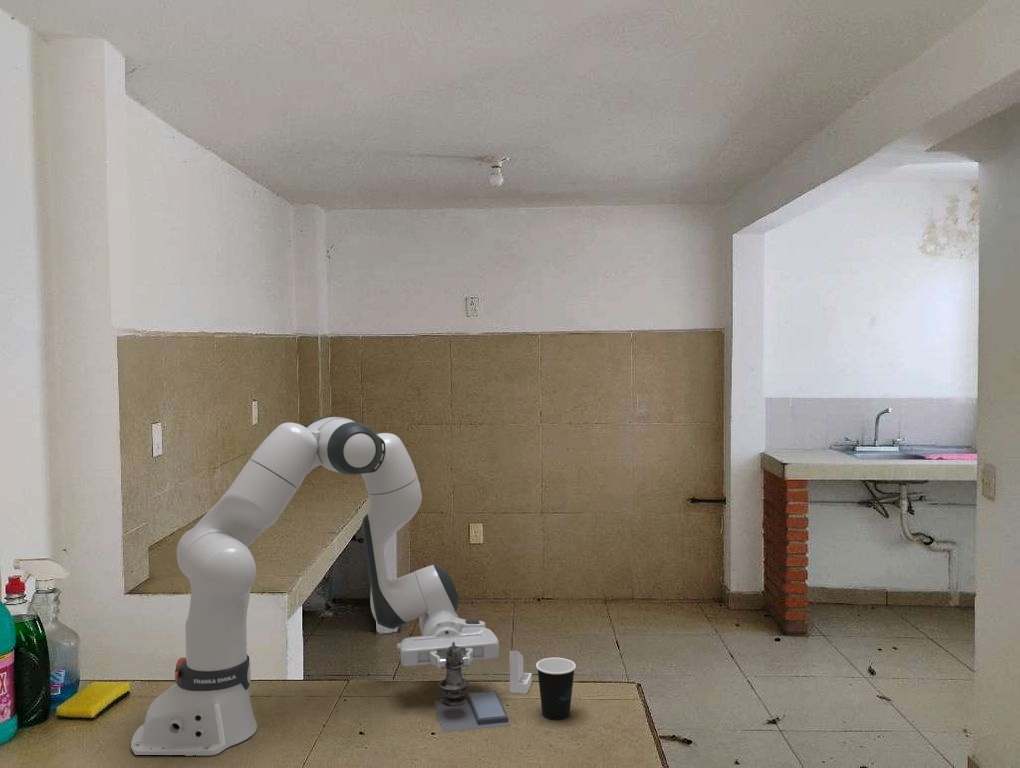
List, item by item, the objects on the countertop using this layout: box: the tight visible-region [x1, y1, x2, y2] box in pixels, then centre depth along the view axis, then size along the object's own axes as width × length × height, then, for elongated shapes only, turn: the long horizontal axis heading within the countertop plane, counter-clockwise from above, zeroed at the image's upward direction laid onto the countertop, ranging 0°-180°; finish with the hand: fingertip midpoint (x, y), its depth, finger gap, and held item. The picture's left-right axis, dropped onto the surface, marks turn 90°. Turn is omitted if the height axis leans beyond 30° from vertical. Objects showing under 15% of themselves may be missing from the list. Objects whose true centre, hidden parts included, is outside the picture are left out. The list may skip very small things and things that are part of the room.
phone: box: [466, 690, 509, 725], centre depth 172 cm, size 6×13×1 cm, turn 12°
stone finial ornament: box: [438, 642, 470, 707], centre depth 169 cm, size 6×6×12 cm
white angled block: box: [509, 650, 533, 695], centre depth 181 cm, size 4×10×9 cm, turn 169°
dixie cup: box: [535, 657, 577, 721], centre depth 169 cm, size 8×8×11 cm
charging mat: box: [433, 697, 511, 733], centre depth 170 cm, size 13×14×1 cm
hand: (454, 663), depth 168 cm, fingers closed on stone finial ornament, 4 cm apart
